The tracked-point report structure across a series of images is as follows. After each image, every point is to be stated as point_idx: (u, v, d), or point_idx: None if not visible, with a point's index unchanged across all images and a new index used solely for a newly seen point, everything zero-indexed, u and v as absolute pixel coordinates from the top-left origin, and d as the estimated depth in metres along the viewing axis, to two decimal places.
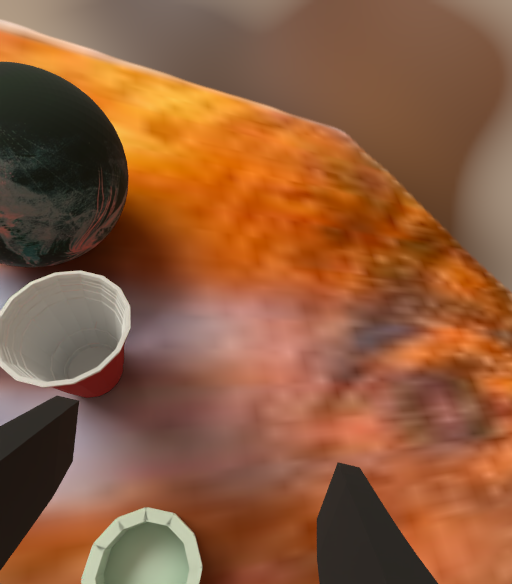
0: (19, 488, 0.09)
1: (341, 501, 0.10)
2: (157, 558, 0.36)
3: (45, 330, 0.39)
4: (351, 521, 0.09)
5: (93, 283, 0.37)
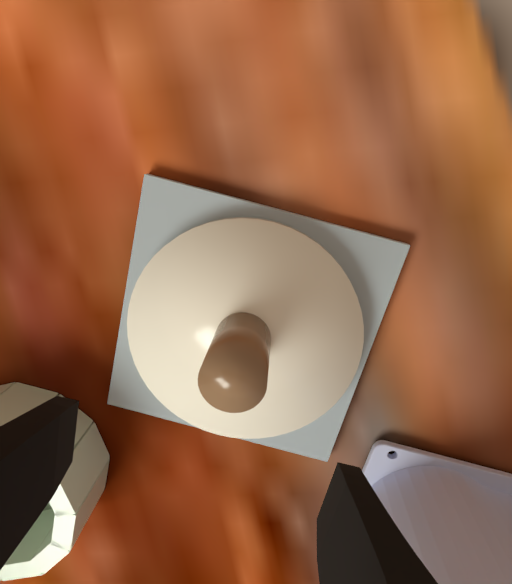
0: (20, 488, 0.09)
1: (341, 501, 0.10)
2: None
3: None
4: (351, 521, 0.09)
5: None
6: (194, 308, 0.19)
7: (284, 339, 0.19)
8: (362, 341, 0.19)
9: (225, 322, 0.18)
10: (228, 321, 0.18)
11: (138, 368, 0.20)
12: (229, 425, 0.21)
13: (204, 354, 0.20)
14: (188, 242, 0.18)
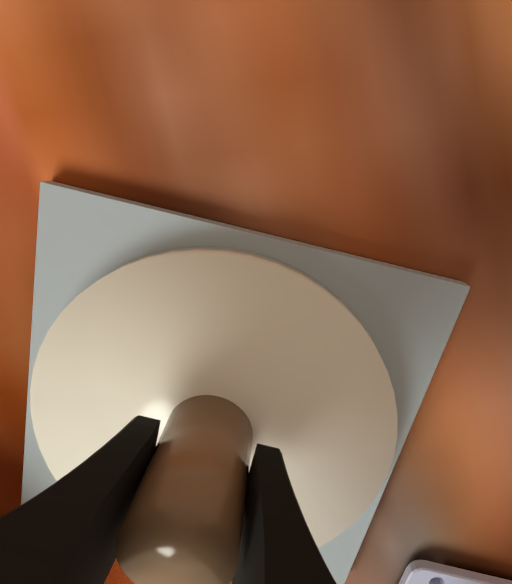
0: (119, 511, 0.09)
1: (252, 480, 0.10)
2: None
3: None
4: (255, 498, 0.09)
5: None
6: (131, 390, 0.12)
7: (272, 433, 0.12)
8: (395, 436, 0.12)
9: (177, 416, 0.11)
10: (182, 414, 0.11)
11: (55, 475, 0.13)
12: None
13: None
14: (113, 290, 0.11)
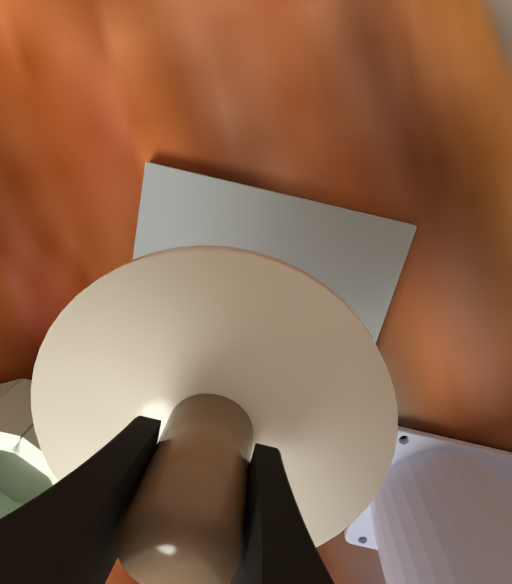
0: (121, 511, 0.09)
1: (251, 480, 0.10)
2: None
3: None
4: (253, 498, 0.09)
5: None
6: (132, 388, 0.12)
7: (273, 431, 0.12)
8: (395, 434, 0.12)
9: (178, 415, 0.11)
10: (182, 412, 0.11)
11: (55, 473, 0.13)
12: None
13: None
14: (114, 289, 0.11)
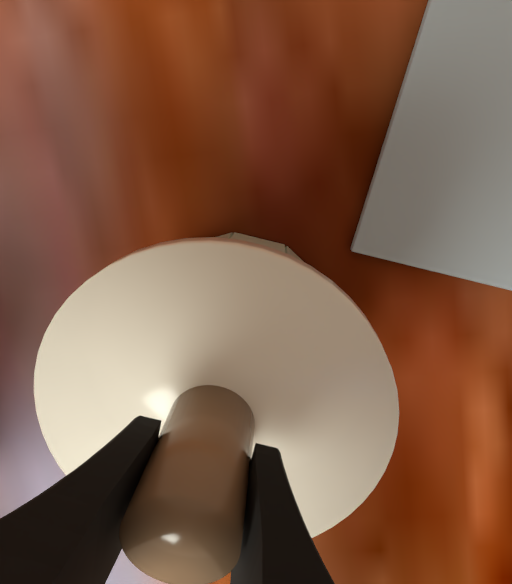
0: (120, 511, 0.09)
1: (251, 480, 0.10)
2: None
3: None
4: (253, 498, 0.09)
5: None
6: (136, 376, 0.12)
7: (274, 425, 0.12)
8: (395, 433, 0.12)
9: (181, 405, 0.11)
10: (186, 403, 0.11)
11: (55, 456, 0.13)
12: None
13: None
14: (122, 277, 0.11)
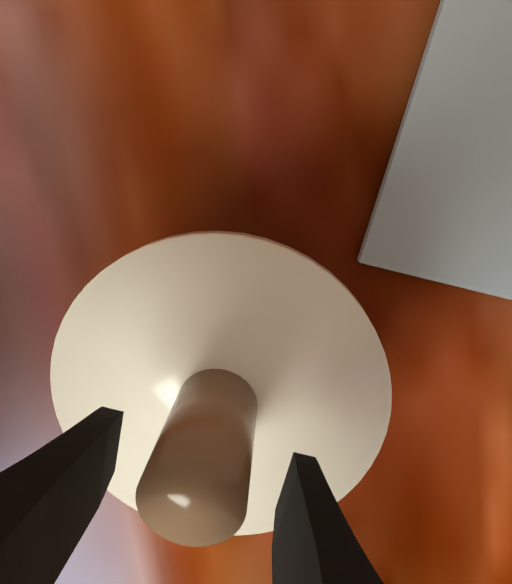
0: (75, 501, 0.09)
1: (292, 490, 0.10)
2: None
3: None
4: (298, 509, 0.09)
5: None
6: (147, 361, 0.13)
7: (276, 407, 0.13)
8: (388, 414, 0.13)
9: (190, 386, 0.12)
10: (194, 384, 0.12)
11: None
12: None
13: (162, 424, 0.14)
14: (136, 266, 0.12)
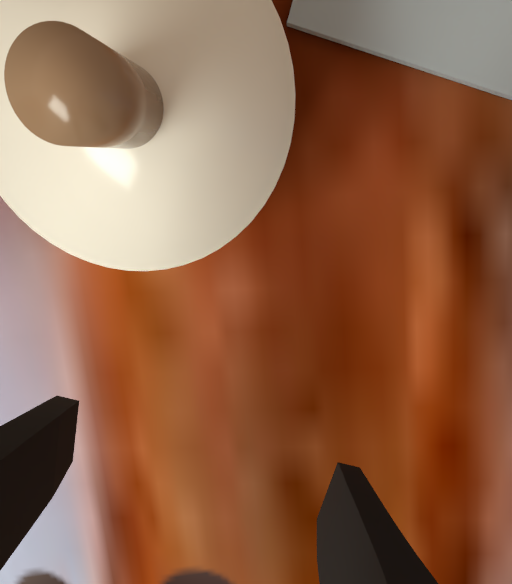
0: (20, 488, 0.09)
1: (341, 501, 0.10)
2: None
3: None
4: (351, 521, 0.09)
5: None
6: None
7: (181, 109, 0.13)
8: (292, 120, 0.13)
9: None
10: None
11: None
12: (105, 248, 0.15)
13: None
14: None
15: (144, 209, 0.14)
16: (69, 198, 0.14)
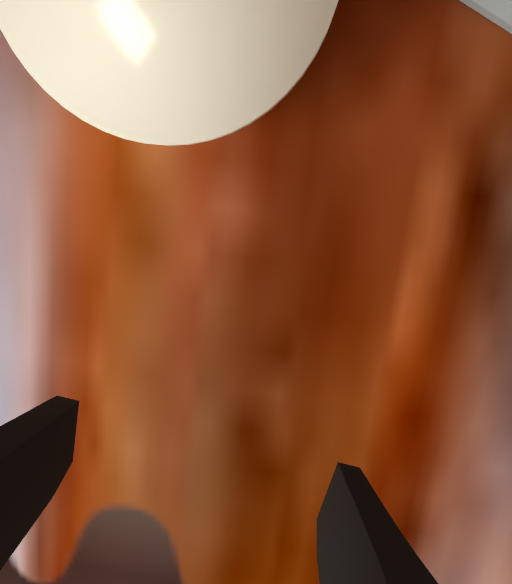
0: (20, 488, 0.09)
1: (341, 501, 0.10)
2: None
3: None
4: (351, 521, 0.09)
5: None
6: None
7: None
8: None
9: None
10: None
11: None
12: (104, 108, 0.13)
13: None
14: None
15: (156, 70, 0.13)
16: (74, 39, 0.13)
